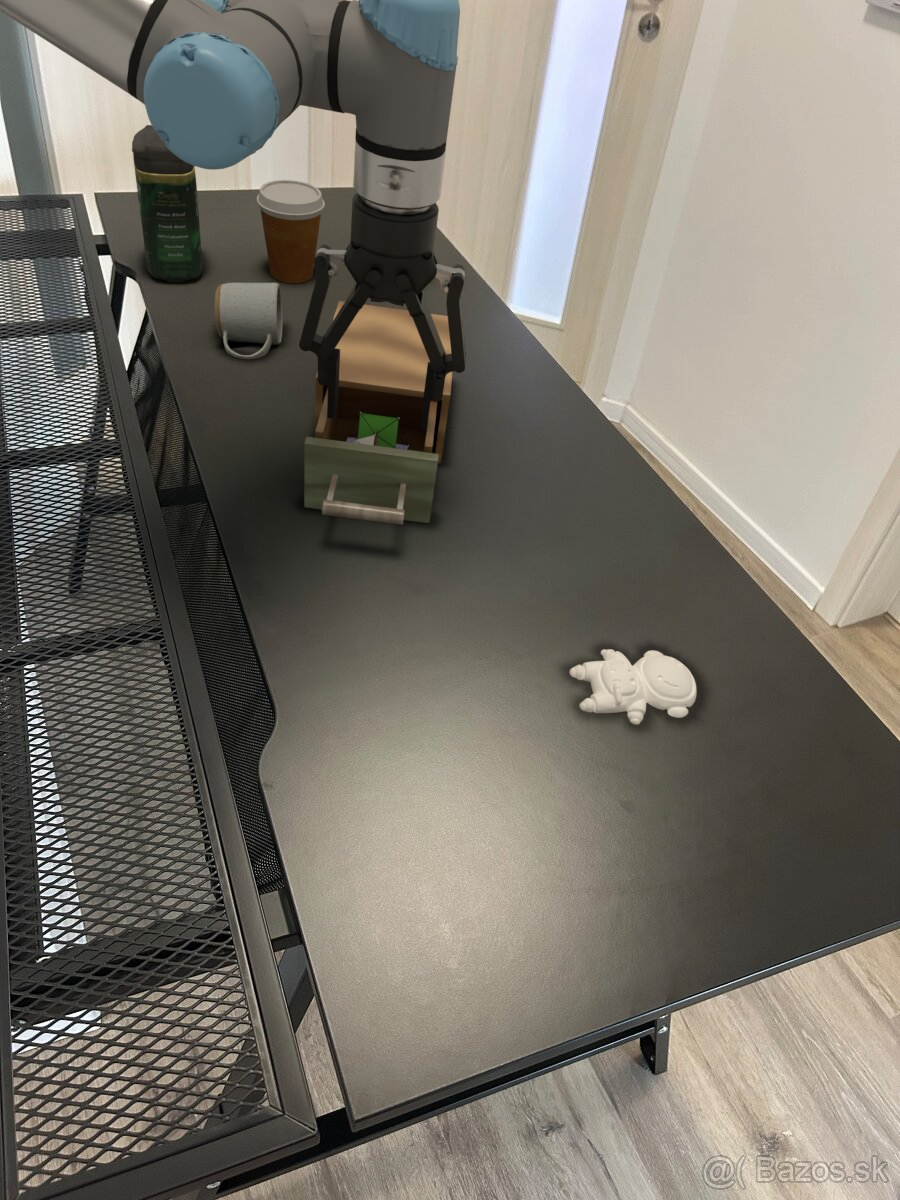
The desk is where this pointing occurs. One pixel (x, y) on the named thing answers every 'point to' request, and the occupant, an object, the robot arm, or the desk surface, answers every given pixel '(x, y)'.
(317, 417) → the cabinet
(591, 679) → the astronaut figurine
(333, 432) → the drawer
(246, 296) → the ceramic mug
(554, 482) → the desk surface
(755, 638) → the desk surface
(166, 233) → the coffee jar
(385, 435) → the geometric puzzle
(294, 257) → the disposable coffee cup
